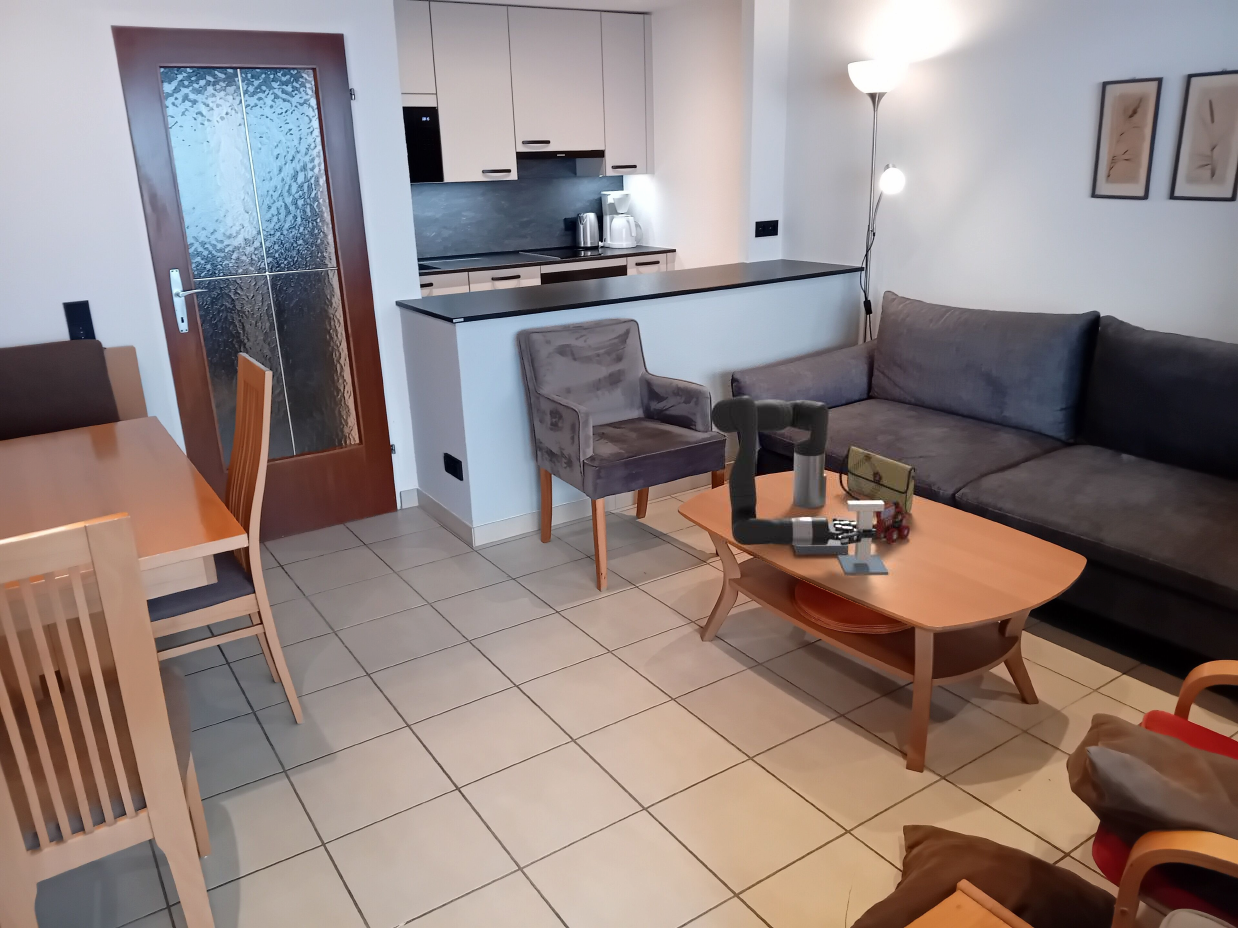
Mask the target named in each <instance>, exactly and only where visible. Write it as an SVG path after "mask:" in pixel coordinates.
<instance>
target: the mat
mask: <svg viewBox="0 0 1238 928" xmlns="http://www.w3.org/2000/svg"><path fill="white" fill-rule="evenodd" d="M837 558H838V562H839V563H840V565H841V568H842V571H843V573H844V574H845V575H887V574H888V575H889V571H888V568H887V567H886V565H885V563H884V561H883V560H882V558H881V556H880V554H875V553H874V554H871V557H870V561H857V560H856V558H855V554H837Z"/></svg>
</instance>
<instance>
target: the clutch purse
mask: <svg viewBox="0 0 1238 928" xmlns="http://www.w3.org/2000/svg"><path fill="white" fill-rule="evenodd" d="M845 463H846V465H845ZM844 466H846V469H847V474H846V475H847V477H846V486H847V488H846V487H845V486H844V483H843V471H844ZM838 472H839V473H838V474H839V475H838V479H839V485H840V487H841V489H842V490H843V492H845V493H846V494H847V495H848V496H850V497H851V498H852V499H854V500H855V501H863V500H862V499H860V498H858V497H857V496H855V495H853V494H852V493H851V492H850V491H853V492H856V493H858V494H860V495H863V496H865V497H868V498H870V499H873V500H874V501H878V500H882V501H883V502H884V505H887V504H892V503H893V502H894V501H898V502H899V503H900V506H902V508H903V511H904V513H906V514H910V513H911V511H912V508H913V501H914V488H915V485H916V481H915V477H916V476H915V473H916V468H915V467H912V466H910V465H906V464H905V463H902V462H899V461H896V460H893V459H890V458H886V457H884V456H882V455H878V454H876V453H873V452H870V451H867V450H863V449H862V448H861V449H860V448H858V447H855V446H853V445H850V446H849V447H848V449H847V453H846V454H845V455H844V457H843V458H842V461H841V464H840V467H839V471H838ZM847 489H848V490H850V491H848V490H847Z"/></svg>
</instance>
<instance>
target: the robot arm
mask: <svg viewBox="0 0 1238 928" xmlns="http://www.w3.org/2000/svg"><path fill="white" fill-rule="evenodd" d="M829 413H830V411H829V408H828V406H827V404H826V403H825V402H821V401H813V400H808V399H807V400H806V399H797V400H792V401H785V400H782V399H775V398H774V399H773V398H772V399H771V398H768V399H766V398H765V399H760V400H754V399H753V398H752V397H750V396H749V395H741V396H740V395H739V396H736V397H735V396H734V397H729V398H726V399H725V398H724V399H721V400H719V401H717V402H716V403H715V404H714V405H713V407H712V410H711V413H710V414H711V416H710V418H711V421H712V424H713V426H714V427H715V428H716V429H717V430H718V431H720V432H721V433H725V434H731V433H738V432H740V441H739V448H738V450H737V454H736V457H735V459H734V460H733V461H734V462H733V463H732V466H731V469H730V471H729V476H728V489H729V491H728V492H729V503H730V507H731V508H730V509H731V519H730V520H731V535H732V537H733V540H734V541H735V542H736V543H737V544H739V545H742V546H755V545H756V546H757V545H771V544H772V545H775V546H776V545H778V546H780V545H781V546H782V545H784V546H787V545H788V546H789V545H790V546H791V545H792V546H793V545H800V546H807V545H827V544H828V541H829V540H836V541H841V543H840V544H841V545H848V546H849V545H851V544H852V545H853V544H855V543H858V542H861V539H862V538H872V539H877V538H876V537H877V530H876V529H874V524H875V523H873V525H872V529H863V530H862V529H856V519H851V518H842V517H837V516H836V517H835V516H834V517H832V521H829V520H828V518H827V517H826V516H798V517H781V518H779V517H778V518H757V510H756V509H757V499H758V497H757V487H756V468H755V467H756V466H755V465H756V453H757V452H756V451H757V441H758V440H757V439H758V431H759V432H780V431H784V430H786V429H787V428H793V429H796V430H800V431H805V432H806V431H807V432H809V434H810V435H809V438H803V439H800V440H798V441H796V442H794V443H795V444H794V449H793V450H794V453H793V456H794V457H793V489H792V490H793V491H792V495H793V496H792V503H793V505H794V506H795V507H797V508H800V509H808V510H812V509H818V508H821V507H822V506H823V505H826V500H827V475H826V474H825V457H826V456H825V455H826V454H825V453H826V452H825V451H826V445H827V441H828V431H829V430H828V428H829V418H830V417H829V416H830V415H829Z"/></svg>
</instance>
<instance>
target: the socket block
mask: <svg viewBox="0 0 1238 928" xmlns="http://www.w3.org/2000/svg"><path fill="white" fill-rule="evenodd" d="M840 543H841V541H836V540H829V541H828V544H827V545H807V546H800V545H792V546H793V549H794V551H795V552H794V553H795V555H798V556H799V555H849V544H848V545H841V544H840Z"/></svg>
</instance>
